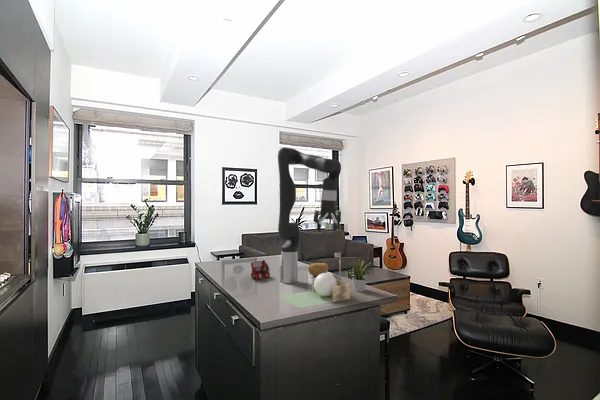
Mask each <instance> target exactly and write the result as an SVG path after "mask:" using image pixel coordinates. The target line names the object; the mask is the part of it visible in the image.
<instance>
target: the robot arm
mask: <svg viewBox="0 0 600 400" xmlns="http://www.w3.org/2000/svg"><path fill="white" fill-rule="evenodd" d="M277 164H278V166H277V167H278V174H279V178H278V179H279V216H278V228H277V231H278V237H279V238H280V239H281V240H283V241H285V240H286V242H285V243H284V244H283V245H281V249H280V250H281V251H280V252H281V253H280V254H281V255H280V257H281V261H280V262H281V263H280V264H279V282H281V283H283V284H296V283H298V281H299V280H298V279H299V276H298V271H299V269H298V268H299V267H298V264H299V263H298V262H299V261H298V256H299V255H298V252H299V251H298V250H299V245H300V227H299V225H298V223H296V222H290V215H291V212H292V210H293V207H294V206H295V203H296V200H297V189H296V184H295V182H294V180H293V178H292V175H291V173H290V165H291V166H292V165H301V166H304V167H306V168H309V169H312V170H318V171H319V172H321V173H325V174H328V175H327V177H326V178H323V180H322V189H321V190H322V191H321V198H320V210H317V209H316V210H314V213H313V222H314V223H316V231H318V232H321V230H322V222H323V221H325V220H330V221H332V231H333V232H336V231H337V230H338V224H341V223H342V211H341V210H336V207H337V197H338V196H337V188H338V181H339V177H340V174H341V170H342V164H341V162H340V161H339V160H338V159H335V158H334V159H331V158H325V157H322V156H319V155H313V154H309V153H307V154H306V153H304V152H301V151H299V150H297V149H294V148H290V147H286V146H284V147H281V148H279V150H278V152H277ZM335 215H336V216H335Z"/></svg>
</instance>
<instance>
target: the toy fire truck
mask: <svg viewBox="0 0 600 400" xmlns="http://www.w3.org/2000/svg"><path fill="white" fill-rule="evenodd" d="M250 267H251V273H250V277H251V279H256V280H258V281H261V280H263V278H264V279H270V276H271V273H270V267H269V264H268V263H267V262H266V259H265V260H264V259H263V260H260V261H259V260H258V261H257V260H256V261H251V263H250Z"/></svg>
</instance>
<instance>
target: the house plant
mask: <svg viewBox="0 0 600 400" xmlns="http://www.w3.org/2000/svg"><path fill="white" fill-rule="evenodd" d="M360 260H361V259H360V258H359V259H358V260H357V261H358V264H357V263H356V262H355V261H351V262H348V264H349V265H350V267H352V268H350V271H349V272H348V274H353V275H354V277H352V279H351V280H352V284H353V289H354V291H355V292H365V291H366V284H367V278H366V277H365V276H366V275H372V271H370V270H372V268H368V267H369V266H370V265H371V262H369V263H367V264H366V265H365V266H364V264H365V262H366V260H365V261H364V259H363V260H362V261H361V262H360ZM352 262H353V263H354V265H353V263H352ZM363 266H364V267H363Z"/></svg>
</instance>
